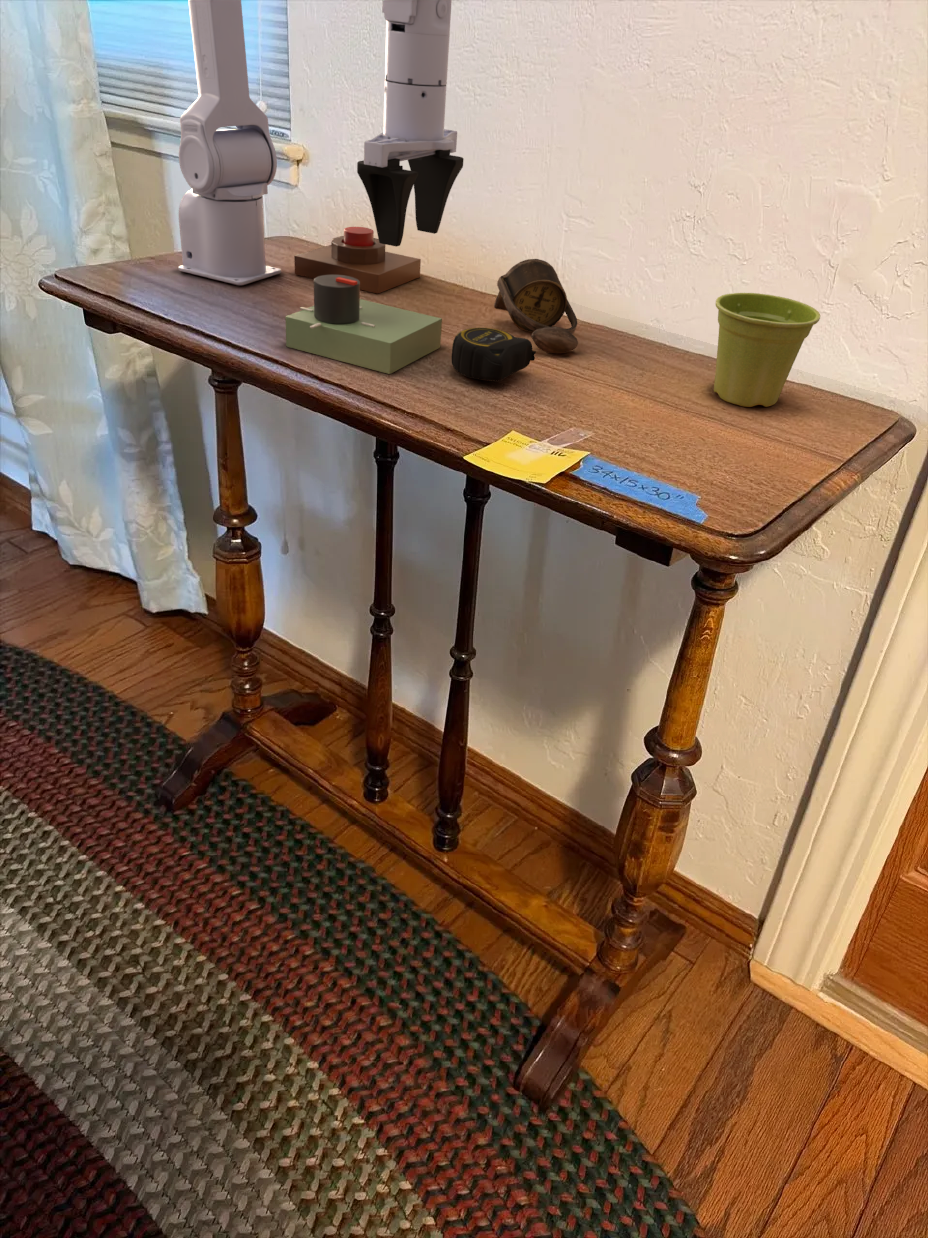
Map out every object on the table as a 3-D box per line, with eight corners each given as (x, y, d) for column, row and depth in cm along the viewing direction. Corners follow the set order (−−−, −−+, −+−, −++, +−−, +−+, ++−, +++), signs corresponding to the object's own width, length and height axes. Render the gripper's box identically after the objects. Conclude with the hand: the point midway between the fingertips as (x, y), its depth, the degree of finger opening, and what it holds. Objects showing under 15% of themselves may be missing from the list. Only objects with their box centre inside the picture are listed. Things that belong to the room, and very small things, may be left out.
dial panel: (275, 349, 91) (274, 316, 89) (340, 322, 99) (340, 292, 97) (382, 378, 87) (383, 344, 85) (440, 347, 95) (442, 316, 93)
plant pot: (778, 424, 85) (805, 329, 80) (681, 397, 89) (702, 305, 84) (805, 396, 92) (831, 307, 87) (714, 372, 95) (734, 286, 90)
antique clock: (594, 274, 103) (509, 244, 102) (598, 294, 92) (503, 260, 91) (571, 337, 106) (488, 308, 106) (572, 363, 95) (480, 331, 94)
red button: (337, 244, 112) (338, 229, 111) (354, 239, 115) (354, 224, 114) (363, 250, 111) (363, 234, 110) (379, 245, 114) (379, 230, 113)
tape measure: (497, 394, 85) (501, 354, 83) (436, 375, 88) (438, 336, 86) (533, 375, 90) (538, 337, 88) (474, 357, 93) (477, 320, 91)
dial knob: (305, 317, 90) (304, 277, 88) (330, 307, 93) (330, 268, 91) (343, 327, 88) (343, 286, 86) (367, 316, 92) (368, 277, 89)
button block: (294, 274, 113) (293, 239, 111) (340, 259, 121) (340, 226, 118) (378, 293, 109) (378, 258, 107) (420, 277, 117) (421, 243, 114)
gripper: (414, 91, 78) (407, 258, 86) (488, 84, 89) (476, 232, 97) (344, 81, 81) (343, 244, 89) (424, 75, 92) (418, 221, 99)
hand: (409, 237), depth 93 cm, fingers open, 7 cm apart
